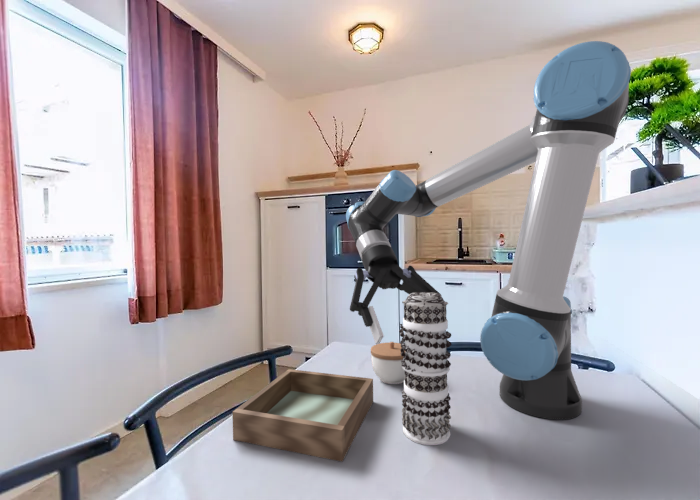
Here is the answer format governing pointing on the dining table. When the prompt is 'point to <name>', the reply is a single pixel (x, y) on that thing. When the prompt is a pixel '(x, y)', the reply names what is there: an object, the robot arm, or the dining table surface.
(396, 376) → the lidded jar
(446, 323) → the decorative candle
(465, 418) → the dining table surface
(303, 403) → the wooden drawer box
